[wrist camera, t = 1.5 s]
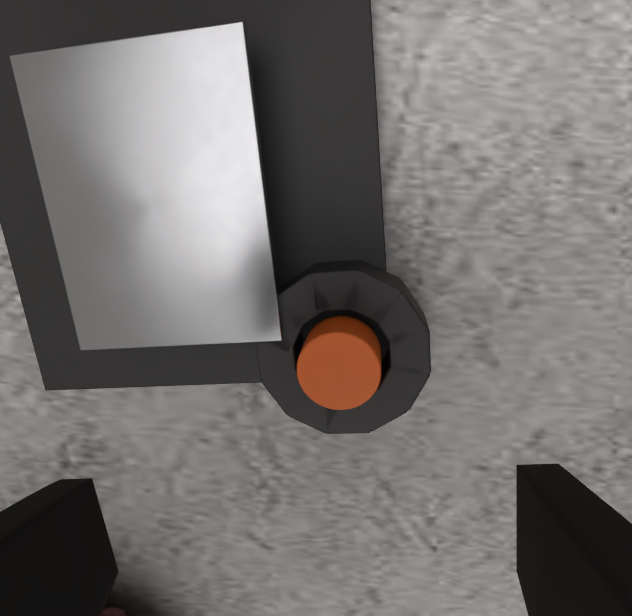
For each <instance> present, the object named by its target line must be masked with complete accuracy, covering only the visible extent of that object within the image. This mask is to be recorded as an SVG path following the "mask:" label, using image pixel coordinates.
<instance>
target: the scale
mask: <svg viewBox="0 0 632 616" xmlns="http://www.w3.org/2000/svg"><path fill="white" fill-rule="evenodd" d="M239 21H243V22H244V23H245V24H246V30H247V38H248V46H249V55H250V63H251V71H252V79H253V88H254V96H255V104H256V112H257V120H258V129H259V137H260V145H261V153H262V162H263V170H264V178H265V186H266V195H267V203H268V211H269V219H270V228H271V236H272V244H273V252H274V261H275V269H276V277H277V285H278V294H279V302H280V310H281V318H282V326H283V335H284V338H283V340H282V341H265V342H244V343H224V344H204V345H184V346H163V347H143V348H123V349H103V350H80V346H79V342H78V338H77V333H76V329H75V325H74V321H73V317H72V313H71V309H70V304H69V300H68V296H67V292H66V288H65V284H64V280H63V276H62V271H61V267H60V263H59V259H58V255H57V251H56V247H55V243H54V238H53V234H52V230H51V226H50V222H49V218H48V214H47V209H46V205H45V201H44V197H43V193H42V189H41V185H40V181H39V176H38V172H37V168H36V164H35V160H34V156H33V152H32V147H31V143H30V139H29V135H28V131H27V127H26V123H25V119H24V114H23V110H22V106H21V102H20V98H19V94H18V90H17V86H16V81H15V77H14V73H13V69H12V65H11V61H10V56H11V55H18V54H25V53H31V52H38V51H45V50H51V49H58V48H65V47H71V46H78V45H85V44H92V43H98V42H105V41H112V40H118V39H125V38H132V37H138V36H145V35H152V34H159V33H165V32H172V31H179V30H185V29H192V28H199V27H205V26H212V25H219V24H226V23H232V22H239ZM0 223H1V226H2V230H3V234H4V238H5V241H6V245H7V249H8V252H9V256H10V260H11V264H12V267H13V271H14V275H15V279H16V282H17V286H18V290H19V293H20V297H21V301H22V305H23V308H24V312H25V316H26V319H27V323H28V327H29V331H30V334H31V338H32V342H33V345H34V349H35V353H36V357H37V360H38V364H39V368H40V371H41V375H42V379H43V383H44V386H45V390H68V389H95V388H122V387H149V386H177V385H204V384H231V383H258V382H262V383H263V385H264V386H265V387H266V388H267V390H268V391H269V392H270V394H271V395H272V396H273V398H274V399H275V400H276V402H277V403H278V404H279V405H280V407H281V408H282V409H283V411H284V412H285V413H286V414H287V415H288V416H290V417H292V418H294V419H296V420H298V421H300V422H302V423H305V424H307V425H309V426H311V427H313V428H315V429H317V430H319V431H321V432H324V433H327V434H340V433H370V431H374V430H376V429H377V428H379V427H381V426H383V425H385V424H386V423H388V422H390V421H392V420H394V419H395V418H397V417H399V416H401V415H403V414H404V413H406V412H407V411H408V410H410V408H411V407H412V405H413V403H414V402H415V400H416V398H417V397H418V395H419V393H420V392H421V390H422V388H423V386H424V385H425V383H426V381H427V380H428V378H429V376H430V373H431V358H430V331H429V328H428V325H427V321H426V318H425V315H424V312H423V311H422V309H421V308H420V306H419V305H418V303H417V302H416V301H415V299H414V298H413V296H412V295H411V293H410V292H409V290H408V289H407V287H406V286H405V284H404V283H403V282H402V281H401V280H400V278H398V277H396V276H394V275H392V274H390V273H388V272H386V255H385V238H384V221H383V204H382V187H381V171H380V154H379V137H378V120H377V103H376V86H375V69H374V52H373V35H372V18H371V1H370V0H0ZM335 316H347V317H352V318H355V319H358V320H360V321H362V322H364V323H365V324H366V325H368V326H369V327H370V328H371V329H372V330H373V332H374V333H375V334H376V336H377V338H378V340H379V343H380V346H381V380H380V383H379V386H378V388H377V390H376V392H375V393H374V395H373V396H372V397H371V398H370V399H369V400H368V401H366V402H365V403H363V404H362V405H360V406H358V407H355V408H352V409H347V410H334V409H329V408H326V407H323V406H321V405H319V404H317V403H315V402H314V401H313V400H311V399H310V398H309V397H308V396H307V395H306V393H305V392H304V391H303V389H302V388H301V386H300V384H299V381H298V377H297V369H296V368H297V361H298V357H299V355H300V352H301V350H302V347H303V345H304V343H305V340H306V338H307V336H308V334H309V332H310V331H311V330H312V328H313V327H314V326H315V325H317V324H318V323H319V322H321V321H323V320H325V319H327V318H330V317H335Z"/></svg>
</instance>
